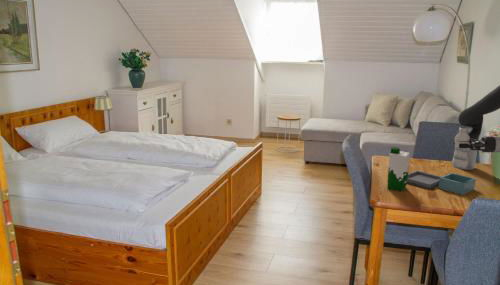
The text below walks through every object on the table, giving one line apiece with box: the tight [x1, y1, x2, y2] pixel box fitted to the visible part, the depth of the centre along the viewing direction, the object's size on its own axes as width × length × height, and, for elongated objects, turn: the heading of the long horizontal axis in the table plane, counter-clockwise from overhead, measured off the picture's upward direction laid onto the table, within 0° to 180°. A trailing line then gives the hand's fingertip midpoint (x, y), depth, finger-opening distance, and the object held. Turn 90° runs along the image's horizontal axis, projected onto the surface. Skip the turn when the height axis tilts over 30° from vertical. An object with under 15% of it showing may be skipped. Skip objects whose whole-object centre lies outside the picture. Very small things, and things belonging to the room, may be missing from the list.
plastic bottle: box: [451, 126, 470, 169], centre depth 206 cm, size 6×7×20 cm
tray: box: [407, 169, 442, 190], centre depth 220 cm, size 16×16×2 cm
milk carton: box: [387, 146, 410, 192], centre depth 209 cm, size 9×9×20 cm
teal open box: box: [438, 172, 477, 196], centre depth 210 cm, size 12×12×6 cm
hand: (456, 143), depth 205 cm, fingers closed on plastic bottle, 6 cm apart
